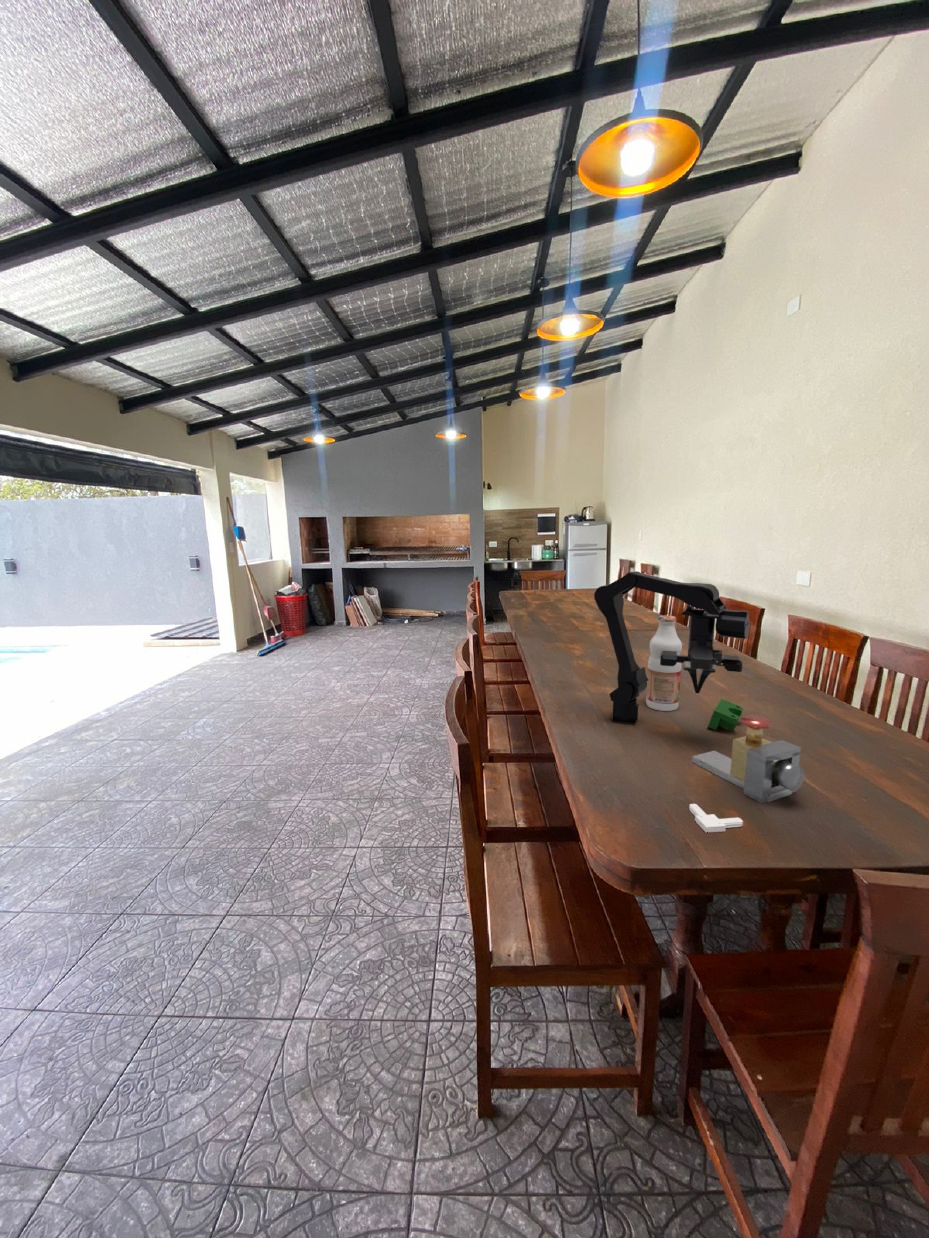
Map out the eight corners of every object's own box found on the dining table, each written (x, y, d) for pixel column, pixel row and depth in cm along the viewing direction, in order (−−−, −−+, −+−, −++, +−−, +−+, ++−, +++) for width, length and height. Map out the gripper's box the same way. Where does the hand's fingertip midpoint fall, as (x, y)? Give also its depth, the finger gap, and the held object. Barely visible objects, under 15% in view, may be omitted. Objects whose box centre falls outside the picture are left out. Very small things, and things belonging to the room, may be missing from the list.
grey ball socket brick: (686, 763, 117) (689, 723, 115) (718, 755, 121) (722, 716, 119) (775, 810, 97) (781, 763, 96) (810, 798, 101) (816, 753, 100)
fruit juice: (639, 702, 157) (644, 614, 152) (665, 699, 160) (670, 613, 154) (658, 713, 148) (663, 620, 143) (685, 709, 151) (691, 618, 145)
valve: (728, 773, 109) (733, 717, 107) (748, 767, 111) (753, 713, 109) (761, 789, 102) (768, 730, 100) (781, 783, 104) (788, 725, 102)
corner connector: (721, 807, 99) (722, 800, 99) (747, 831, 92) (748, 824, 91) (682, 810, 99) (683, 803, 98) (705, 835, 91) (706, 827, 91)
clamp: (727, 746, 135) (736, 724, 130) (704, 736, 139) (712, 714, 133) (739, 718, 143) (748, 696, 137) (717, 709, 146) (725, 687, 140)
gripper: (661, 638, 123) (658, 698, 126) (748, 643, 116) (742, 707, 119) (662, 629, 133) (658, 685, 136) (741, 633, 126) (736, 693, 129)
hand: (697, 692), depth 130 cm, fingers closed
